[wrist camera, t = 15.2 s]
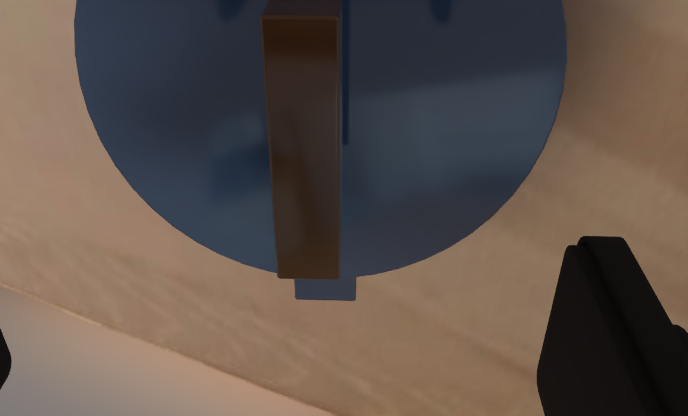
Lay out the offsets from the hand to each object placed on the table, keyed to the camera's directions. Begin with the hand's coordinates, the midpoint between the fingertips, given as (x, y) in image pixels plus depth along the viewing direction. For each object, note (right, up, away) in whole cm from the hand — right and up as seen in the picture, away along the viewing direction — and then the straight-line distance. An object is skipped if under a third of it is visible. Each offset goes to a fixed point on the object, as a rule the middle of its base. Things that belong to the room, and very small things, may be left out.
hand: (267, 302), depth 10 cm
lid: (0, +5, +10) cm, 11 cm away
